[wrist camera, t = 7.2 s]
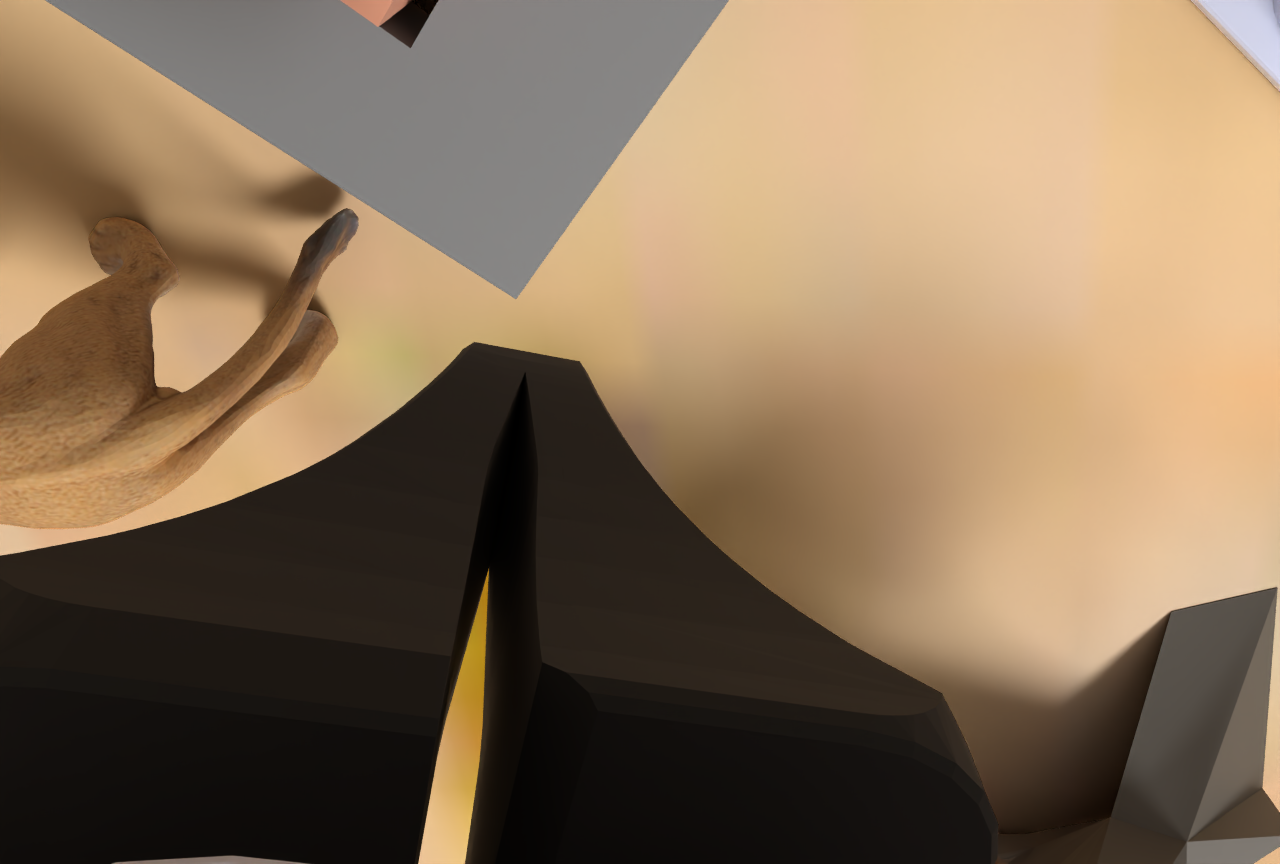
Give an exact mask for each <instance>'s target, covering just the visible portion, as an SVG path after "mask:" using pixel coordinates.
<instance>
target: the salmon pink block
mask: <svg viewBox="0 0 1280 864" xmlns="http://www.w3.org/2000/svg"><path fill="white" fill-rule="evenodd" d="M340 1H342V2H343V3H345V4H346V5H348V6H349V7H350V8H352V9H353V10H355V11H356V12H357V13H359V14H360V15H362V16H363V17H365V18H366V19H367V20H369V21H370V22H372V23H373V24H374V25H376V26H377V27H379V26H380V25H381V24H383V23H384V22H385V21H387V20H388V19H389V18H391V17H392V16H393V15H394V14H396V13H397V12H398V11H400V10H401V9H402V8H403V7H405V6H406V5H407V4H409V3H410V2H411V1H413V0H340Z"/></svg>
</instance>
